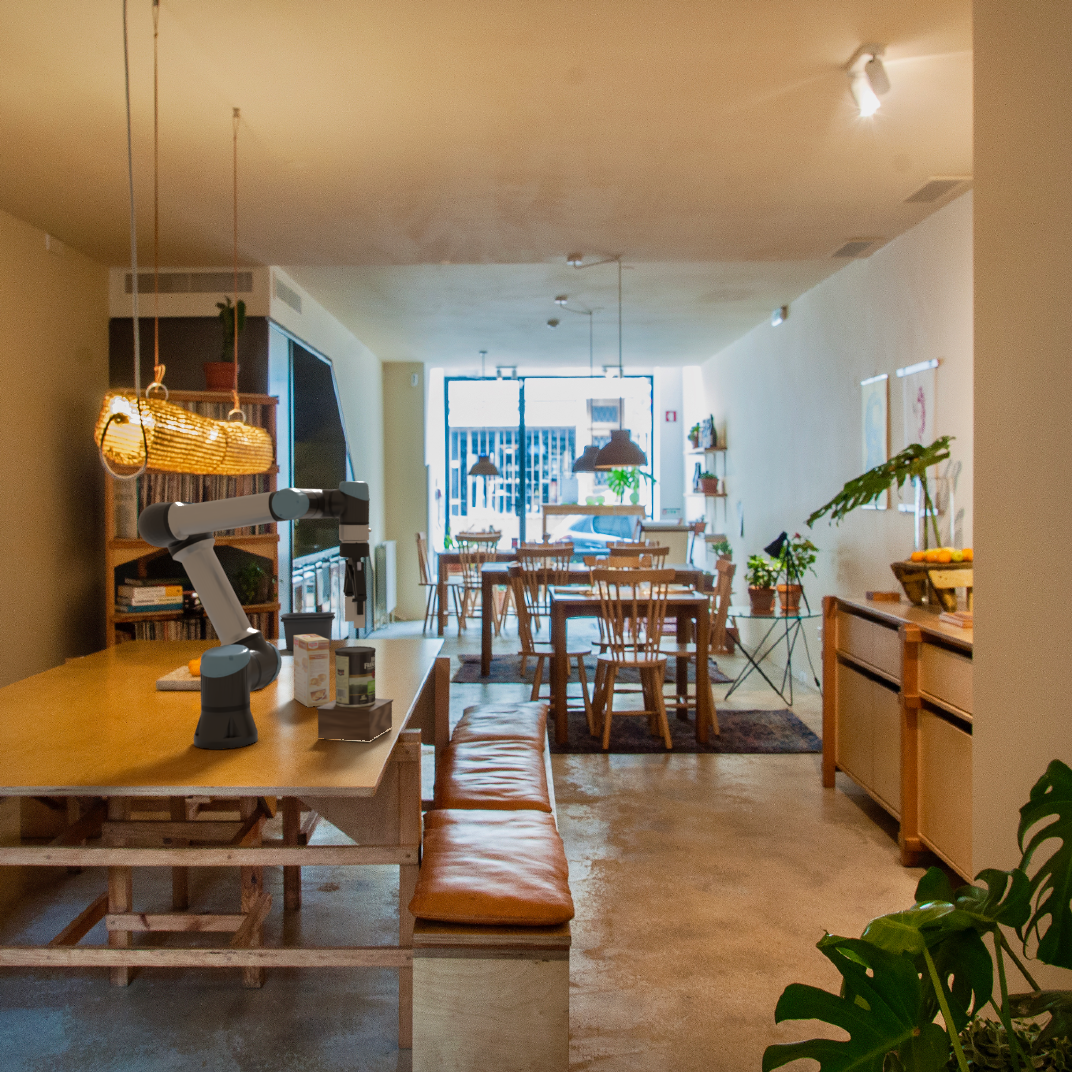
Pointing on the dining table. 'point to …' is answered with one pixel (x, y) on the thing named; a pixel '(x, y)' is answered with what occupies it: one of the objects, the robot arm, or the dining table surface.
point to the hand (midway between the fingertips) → (354, 624)
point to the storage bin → (307, 625)
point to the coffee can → (355, 676)
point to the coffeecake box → (311, 670)
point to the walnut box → (354, 720)
